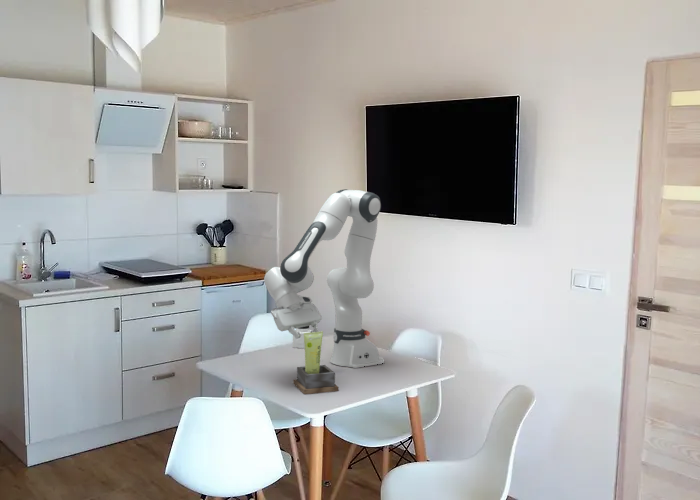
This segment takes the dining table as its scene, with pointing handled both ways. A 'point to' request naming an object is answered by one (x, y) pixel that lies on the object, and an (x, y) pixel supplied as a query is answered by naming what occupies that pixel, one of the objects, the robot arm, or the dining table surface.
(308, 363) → the tube
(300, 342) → the medicine bottle
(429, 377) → the dining table surface
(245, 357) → the dining table surface
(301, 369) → the holder
